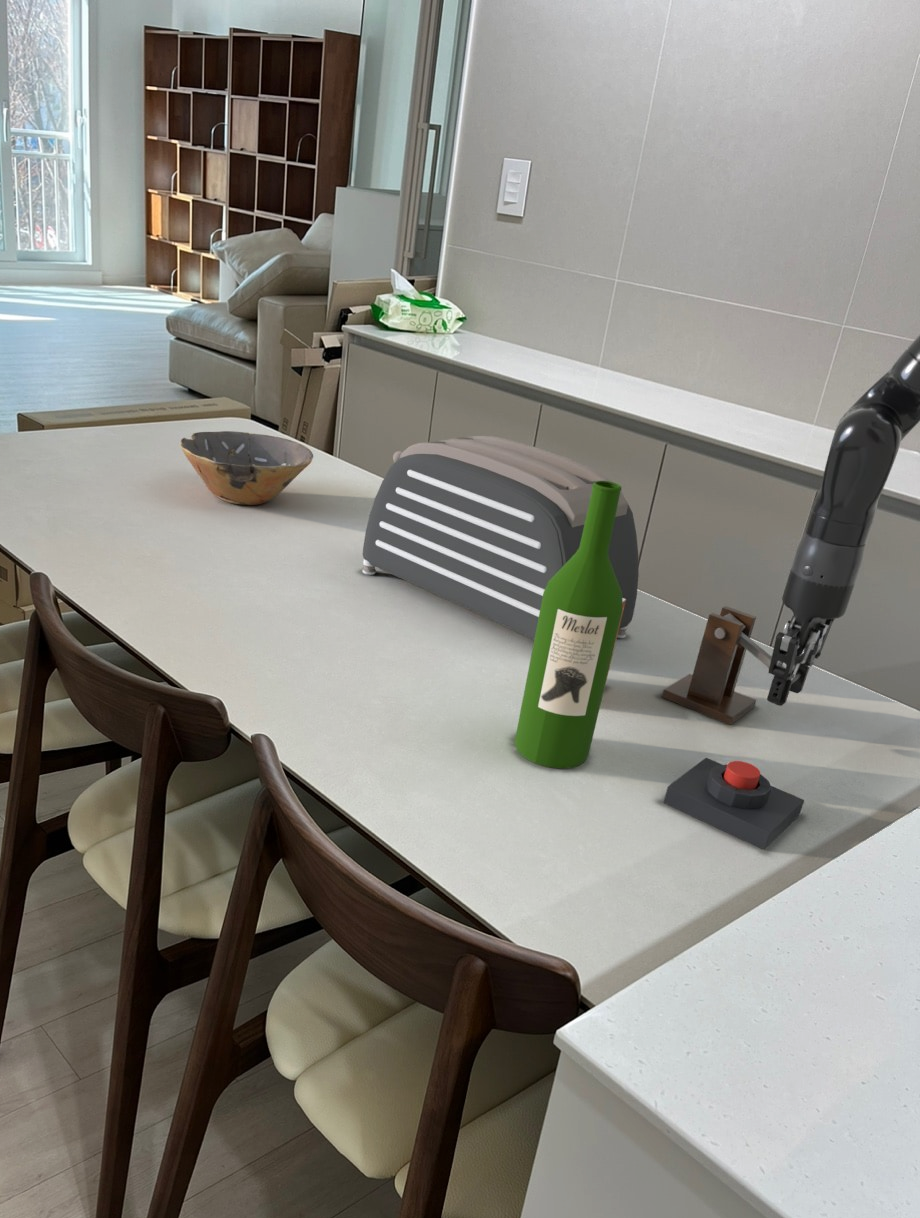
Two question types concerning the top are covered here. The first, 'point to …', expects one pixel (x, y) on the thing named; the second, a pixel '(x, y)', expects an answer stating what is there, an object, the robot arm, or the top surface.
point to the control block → (734, 804)
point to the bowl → (245, 464)
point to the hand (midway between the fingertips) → (784, 696)
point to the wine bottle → (573, 645)
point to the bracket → (717, 670)
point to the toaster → (490, 526)
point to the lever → (758, 649)
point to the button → (742, 775)
